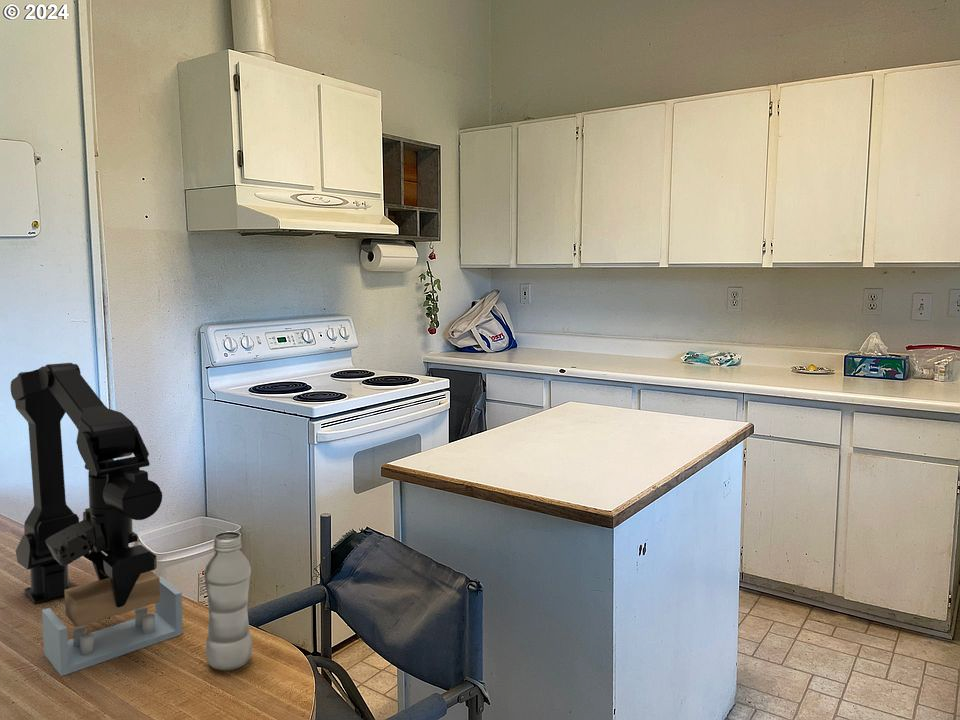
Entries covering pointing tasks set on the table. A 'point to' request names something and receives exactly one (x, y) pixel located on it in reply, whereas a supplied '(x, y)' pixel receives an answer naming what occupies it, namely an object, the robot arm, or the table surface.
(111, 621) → the table surface
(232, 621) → the plastic bottle
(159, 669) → the table surface
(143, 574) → the shelf block
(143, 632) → the peg rack
